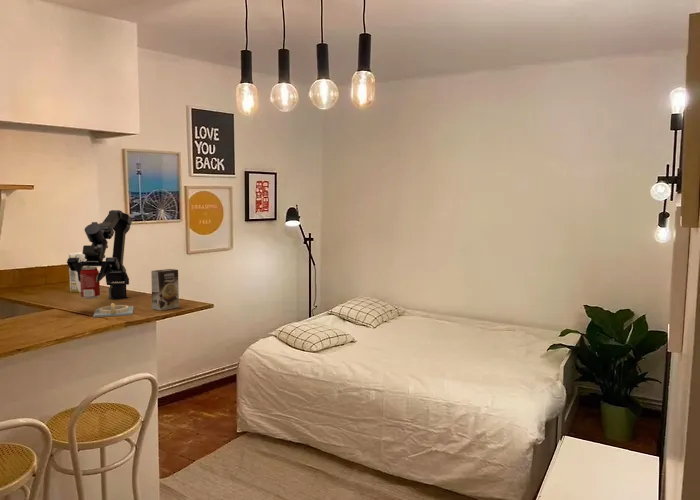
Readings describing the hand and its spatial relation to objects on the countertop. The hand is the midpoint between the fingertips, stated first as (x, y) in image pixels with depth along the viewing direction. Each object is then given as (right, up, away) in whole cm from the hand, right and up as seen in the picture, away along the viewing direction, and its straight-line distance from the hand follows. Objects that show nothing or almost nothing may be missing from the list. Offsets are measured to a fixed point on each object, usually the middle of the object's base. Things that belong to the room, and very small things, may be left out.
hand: (88, 281), depth 207 cm
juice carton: (-30, -8, +52) cm, 60 cm away
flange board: (+8, -13, +5) cm, 16 cm away
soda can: (0, -7, +2) cm, 7 cm away
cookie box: (+25, -12, +14) cm, 31 cm away
